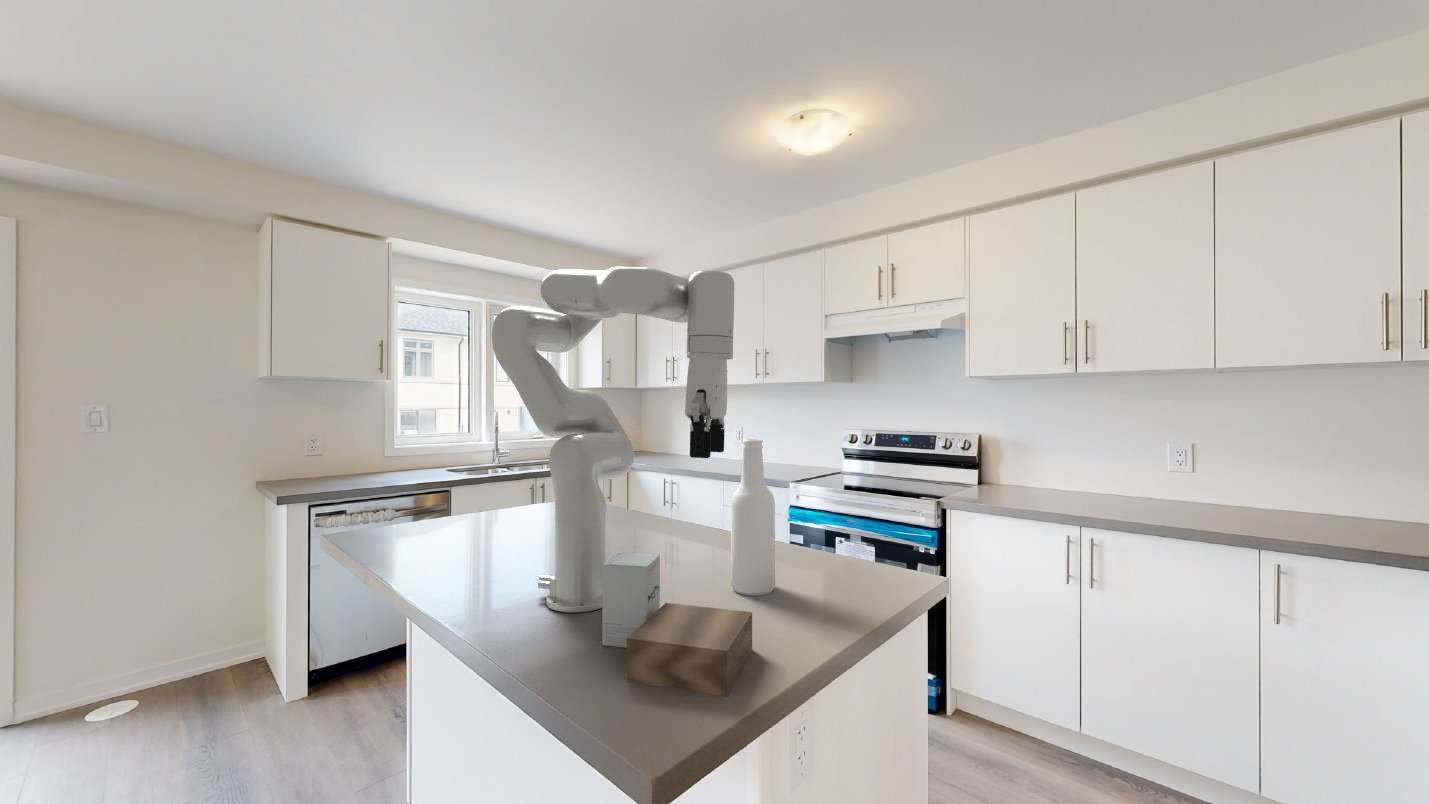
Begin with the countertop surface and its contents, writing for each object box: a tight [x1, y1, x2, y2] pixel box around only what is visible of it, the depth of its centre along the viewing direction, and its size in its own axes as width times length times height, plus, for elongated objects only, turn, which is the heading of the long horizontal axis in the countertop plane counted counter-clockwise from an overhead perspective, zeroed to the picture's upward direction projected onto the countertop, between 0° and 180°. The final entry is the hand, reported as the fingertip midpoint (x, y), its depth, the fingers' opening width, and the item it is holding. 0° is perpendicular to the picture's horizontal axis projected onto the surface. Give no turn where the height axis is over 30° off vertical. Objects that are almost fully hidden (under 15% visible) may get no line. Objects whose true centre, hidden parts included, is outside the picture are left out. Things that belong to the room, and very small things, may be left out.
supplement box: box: [601, 552, 661, 649], centre depth 88 cm, size 7×7×13 cm
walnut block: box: [626, 602, 753, 697], centre depth 80 cm, size 14×14×6 cm
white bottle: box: [730, 438, 776, 597], centre depth 112 cm, size 9×9×30 cm
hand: (707, 454), depth 91 cm, fingers open, 9 cm apart
